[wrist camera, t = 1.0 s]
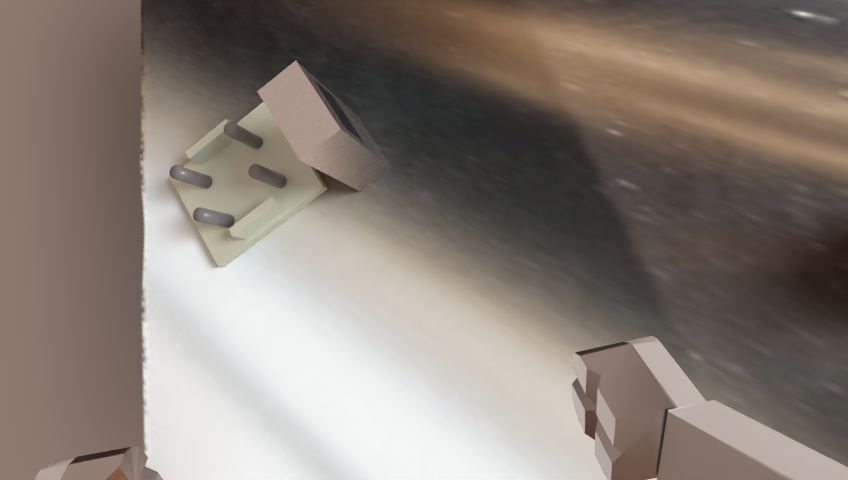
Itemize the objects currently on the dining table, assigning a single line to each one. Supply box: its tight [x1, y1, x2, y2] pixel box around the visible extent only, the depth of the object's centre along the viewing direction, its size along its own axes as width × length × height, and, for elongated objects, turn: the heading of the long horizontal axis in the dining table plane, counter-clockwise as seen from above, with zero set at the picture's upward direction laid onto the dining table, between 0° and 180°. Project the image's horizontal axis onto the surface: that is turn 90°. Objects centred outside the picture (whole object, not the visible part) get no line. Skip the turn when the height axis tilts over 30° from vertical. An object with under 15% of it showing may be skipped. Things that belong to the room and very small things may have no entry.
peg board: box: [169, 102, 328, 267], centre depth 45 cm, size 12×10×5 cm
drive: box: [257, 61, 392, 192], centre depth 40 cm, size 3×6×11 cm, turn 34°
